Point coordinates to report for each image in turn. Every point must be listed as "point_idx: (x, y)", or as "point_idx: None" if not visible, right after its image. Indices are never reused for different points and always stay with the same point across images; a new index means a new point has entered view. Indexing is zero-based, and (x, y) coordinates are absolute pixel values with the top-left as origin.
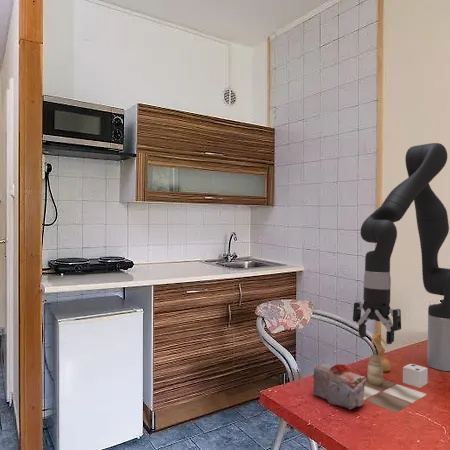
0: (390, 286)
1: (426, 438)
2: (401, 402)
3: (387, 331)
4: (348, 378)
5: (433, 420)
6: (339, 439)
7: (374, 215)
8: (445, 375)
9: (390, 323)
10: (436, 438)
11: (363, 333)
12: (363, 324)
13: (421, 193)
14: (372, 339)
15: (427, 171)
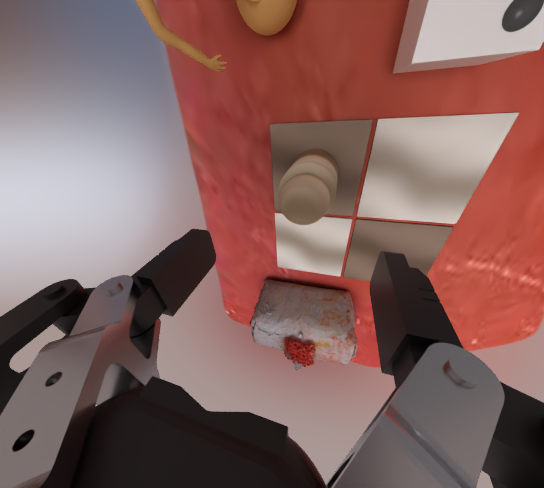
0: None
1: (493, 333)
2: (422, 241)
3: (390, 372)
4: (331, 361)
5: (520, 273)
6: (363, 363)
7: None
8: None
9: (442, 463)
10: (517, 327)
11: (201, 262)
12: (156, 304)
13: None
14: (144, 14)
15: None
